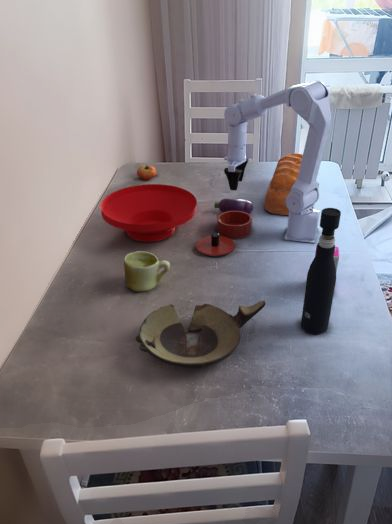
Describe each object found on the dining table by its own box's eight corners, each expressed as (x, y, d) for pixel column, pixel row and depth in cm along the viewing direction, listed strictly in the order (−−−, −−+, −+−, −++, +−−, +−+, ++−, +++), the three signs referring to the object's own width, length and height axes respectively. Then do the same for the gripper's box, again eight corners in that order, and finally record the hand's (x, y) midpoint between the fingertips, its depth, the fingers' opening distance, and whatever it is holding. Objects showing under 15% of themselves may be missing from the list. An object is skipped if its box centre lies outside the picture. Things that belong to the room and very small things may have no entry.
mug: (114, 288, 129) (120, 253, 125) (126, 279, 138) (133, 245, 134) (157, 301, 127) (165, 266, 124) (167, 291, 137) (174, 257, 133)
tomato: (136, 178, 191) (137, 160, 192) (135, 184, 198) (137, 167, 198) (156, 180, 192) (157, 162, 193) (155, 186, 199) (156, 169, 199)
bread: (314, 182, 186) (318, 148, 178) (307, 217, 162) (312, 180, 154) (273, 179, 190) (276, 145, 182) (261, 213, 166) (263, 177, 158)
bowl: (87, 244, 153) (81, 215, 146) (132, 205, 175) (129, 178, 169) (174, 260, 143) (172, 230, 137) (210, 217, 165) (210, 189, 159)
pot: (254, 224, 160) (255, 212, 157) (247, 240, 151) (247, 227, 149) (222, 221, 162) (222, 209, 160) (213, 236, 154) (213, 223, 152)
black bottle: (329, 320, 118) (348, 206, 100) (326, 336, 113) (345, 220, 95) (303, 316, 120) (317, 203, 102) (298, 331, 115) (313, 216, 97)
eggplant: (253, 213, 167) (254, 199, 164) (250, 218, 163) (251, 203, 160) (216, 209, 170) (217, 195, 168) (213, 214, 166) (213, 200, 164)
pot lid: (238, 240, 151) (239, 228, 149) (229, 260, 142) (229, 246, 140) (202, 236, 154) (201, 223, 152) (190, 255, 145) (190, 241, 143)
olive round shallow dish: (142, 318, 121) (139, 293, 117) (261, 315, 121) (263, 289, 116) (133, 381, 104) (129, 355, 99) (273, 378, 103) (275, 351, 98)
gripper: (230, 136, 158) (229, 176, 167) (218, 150, 148) (218, 192, 156) (251, 137, 157) (249, 177, 165) (241, 152, 146) (240, 194, 154)
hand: (236, 185), depth 160 cm, fingers open, 7 cm apart
